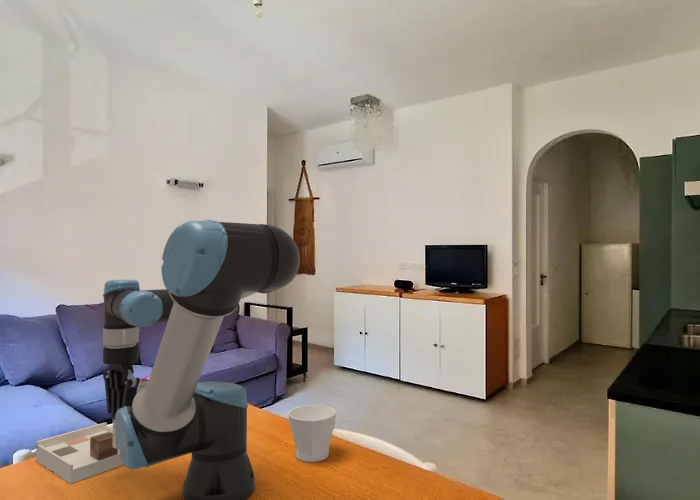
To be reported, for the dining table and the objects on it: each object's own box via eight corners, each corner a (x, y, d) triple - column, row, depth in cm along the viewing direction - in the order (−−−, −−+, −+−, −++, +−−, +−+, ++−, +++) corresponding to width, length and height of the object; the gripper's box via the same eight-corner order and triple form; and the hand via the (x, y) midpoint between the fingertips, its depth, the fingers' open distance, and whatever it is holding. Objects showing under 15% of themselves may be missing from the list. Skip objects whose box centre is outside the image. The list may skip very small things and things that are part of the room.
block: (117, 454, 112) (117, 435, 112) (98, 460, 109) (98, 441, 109) (108, 449, 115) (109, 431, 115) (90, 455, 111) (90, 437, 111)
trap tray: (142, 458, 117) (142, 438, 117) (70, 483, 103) (70, 461, 103) (105, 440, 129) (105, 422, 129) (36, 461, 115) (36, 441, 115)
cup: (325, 469, 110) (325, 422, 111) (279, 461, 114) (279, 417, 115) (343, 449, 122) (342, 407, 122) (300, 443, 126) (300, 402, 126)
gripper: (151, 346, 107) (149, 447, 106) (123, 339, 115) (121, 434, 114) (118, 351, 101) (117, 458, 100) (91, 344, 109) (90, 444, 108)
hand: (119, 445), depth 107 cm, fingers closed
